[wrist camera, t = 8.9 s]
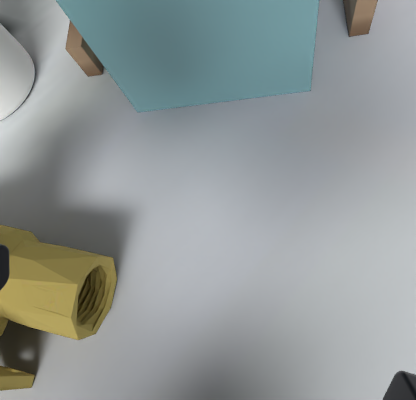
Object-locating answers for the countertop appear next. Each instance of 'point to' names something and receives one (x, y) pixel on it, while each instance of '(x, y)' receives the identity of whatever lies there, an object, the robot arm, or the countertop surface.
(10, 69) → the pill bottle
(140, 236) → the countertop surface
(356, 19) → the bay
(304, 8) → the crate
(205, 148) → the countertop surface
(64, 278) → the ball valve
